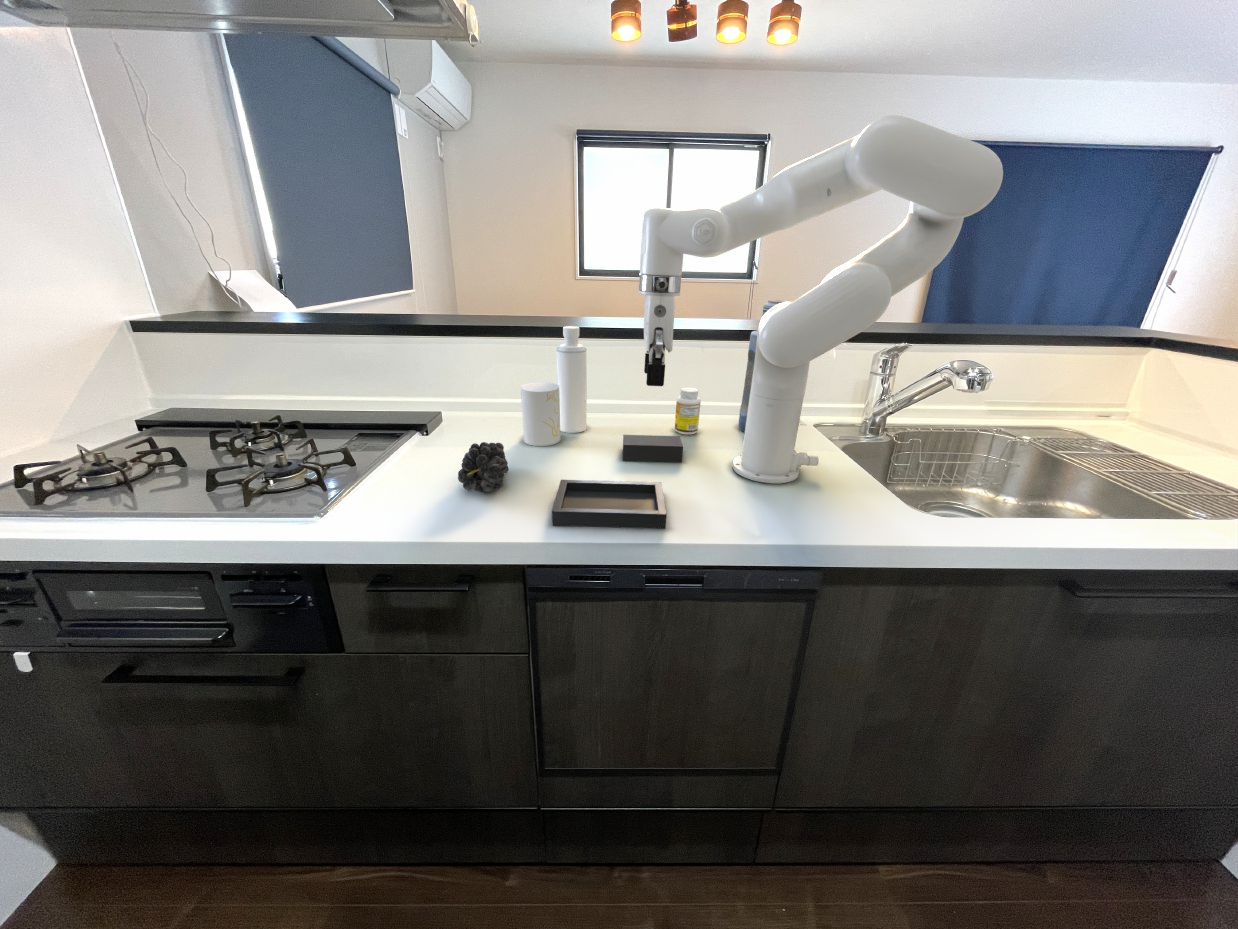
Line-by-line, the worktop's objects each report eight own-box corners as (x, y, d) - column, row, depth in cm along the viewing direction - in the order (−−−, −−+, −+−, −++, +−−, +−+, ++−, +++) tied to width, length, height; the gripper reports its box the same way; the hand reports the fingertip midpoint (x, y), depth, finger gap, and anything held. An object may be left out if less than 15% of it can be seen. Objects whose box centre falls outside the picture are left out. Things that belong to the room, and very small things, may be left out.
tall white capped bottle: (592, 428, 117) (592, 320, 107) (570, 435, 113) (568, 322, 103) (574, 422, 121) (573, 317, 111) (552, 427, 117) (549, 319, 107)
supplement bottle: (679, 426, 120) (682, 385, 116) (700, 430, 118) (705, 388, 114) (670, 432, 116) (673, 390, 112) (693, 437, 114) (697, 393, 110)
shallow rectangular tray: (660, 495, 86) (661, 482, 85) (665, 528, 76) (666, 514, 75) (561, 492, 86) (560, 479, 85) (552, 525, 76) (551, 511, 75)
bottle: (731, 423, 123) (747, 297, 111) (768, 422, 125) (787, 298, 113) (747, 436, 115) (766, 301, 103) (786, 435, 116) (809, 302, 104)
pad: (678, 451, 105) (680, 436, 104) (681, 462, 100) (683, 446, 98) (622, 449, 105) (623, 434, 104) (622, 460, 100) (623, 444, 98)
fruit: (482, 419, 93) (459, 446, 79) (524, 433, 94) (509, 462, 80) (471, 459, 96) (447, 492, 82) (512, 472, 97) (495, 507, 83)
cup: (553, 447, 105) (552, 393, 100) (518, 444, 107) (514, 390, 102) (565, 435, 113) (564, 383, 108) (531, 431, 114) (529, 380, 109)
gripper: (686, 290, 81) (677, 391, 88) (675, 283, 97) (668, 370, 103) (640, 288, 81) (635, 390, 88) (637, 282, 97) (633, 368, 103)
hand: (653, 379), depth 96 cm, fingers open, 9 cm apart
